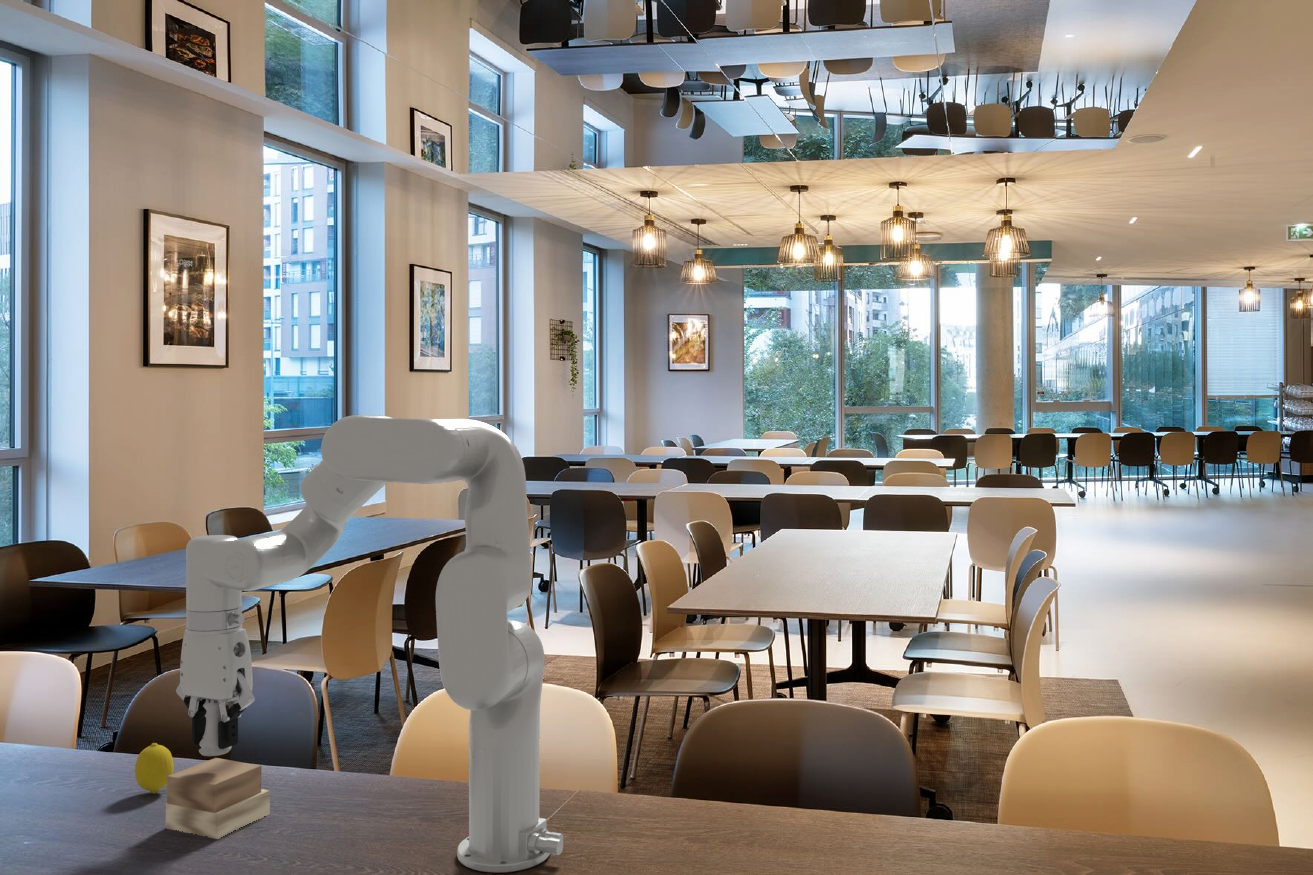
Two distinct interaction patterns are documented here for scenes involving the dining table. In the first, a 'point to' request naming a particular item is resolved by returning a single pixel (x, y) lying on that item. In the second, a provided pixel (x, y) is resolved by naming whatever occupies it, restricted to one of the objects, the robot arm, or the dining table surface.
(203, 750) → the rook chess piece
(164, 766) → the lemon
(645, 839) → the dining table surface
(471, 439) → the robot arm
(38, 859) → the dining table surface
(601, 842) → the dining table surface
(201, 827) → the beech base block
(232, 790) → the tan top block
